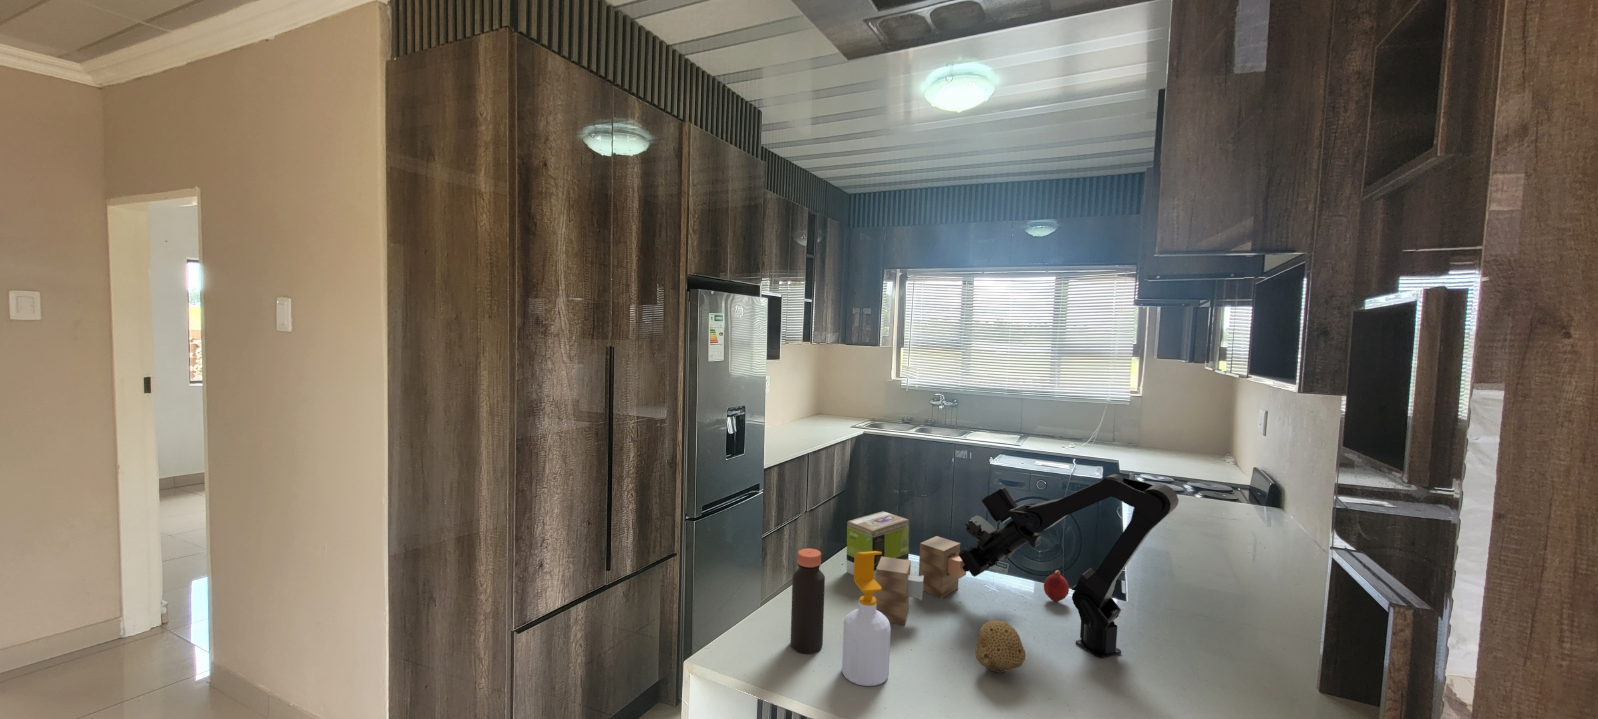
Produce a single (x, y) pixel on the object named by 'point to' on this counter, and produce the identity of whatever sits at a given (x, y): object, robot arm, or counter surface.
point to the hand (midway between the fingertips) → (964, 569)
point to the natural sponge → (999, 647)
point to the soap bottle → (866, 630)
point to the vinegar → (807, 603)
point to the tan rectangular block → (955, 566)
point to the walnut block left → (893, 589)
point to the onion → (1056, 587)
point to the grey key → (915, 586)
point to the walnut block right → (937, 565)
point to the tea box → (877, 537)
